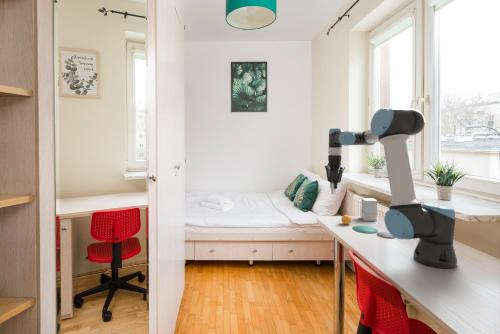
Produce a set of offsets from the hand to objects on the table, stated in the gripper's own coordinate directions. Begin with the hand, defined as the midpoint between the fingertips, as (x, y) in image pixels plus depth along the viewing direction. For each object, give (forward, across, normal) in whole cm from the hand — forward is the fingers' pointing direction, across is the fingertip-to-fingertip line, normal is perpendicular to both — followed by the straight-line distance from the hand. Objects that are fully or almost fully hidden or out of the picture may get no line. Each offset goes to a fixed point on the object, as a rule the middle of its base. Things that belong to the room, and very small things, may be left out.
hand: (333, 193), depth 176 cm
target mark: (+16, -22, 0) cm, 27 cm away
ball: (+14, -10, 0) cm, 17 cm away
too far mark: (+16, -34, 0) cm, 37 cm away
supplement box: (+17, -12, -20) cm, 28 cm away
